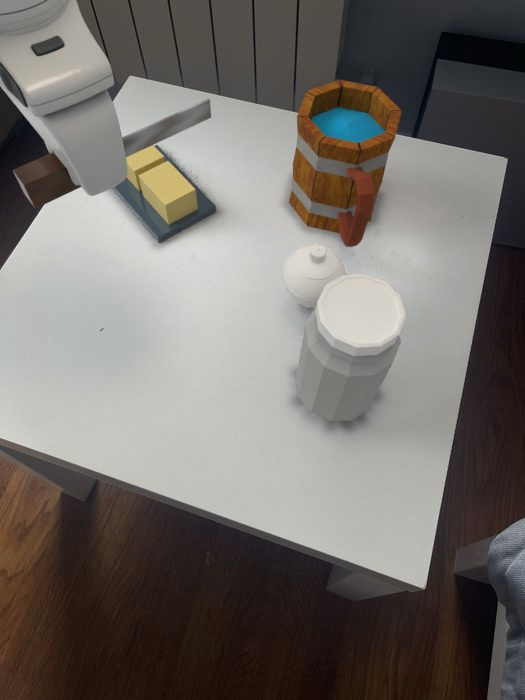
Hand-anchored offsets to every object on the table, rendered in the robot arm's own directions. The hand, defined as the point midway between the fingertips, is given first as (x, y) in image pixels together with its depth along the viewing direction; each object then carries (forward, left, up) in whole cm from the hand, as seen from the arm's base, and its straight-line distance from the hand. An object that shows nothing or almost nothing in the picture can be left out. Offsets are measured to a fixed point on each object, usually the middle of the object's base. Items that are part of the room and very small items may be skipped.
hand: (71, 167), depth 52 cm
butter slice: (+14, +16, -21) cm, 30 cm away
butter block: (+14, +9, -21) cm, 27 cm away
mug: (+33, -6, -23) cm, 41 cm away
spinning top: (+19, -16, -23) cm, 34 cm away
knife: (+5, 0, -2) cm, 5 cm away
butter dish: (+14, +13, -23) cm, 30 cm away
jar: (+14, -27, -23) cm, 38 cm away
